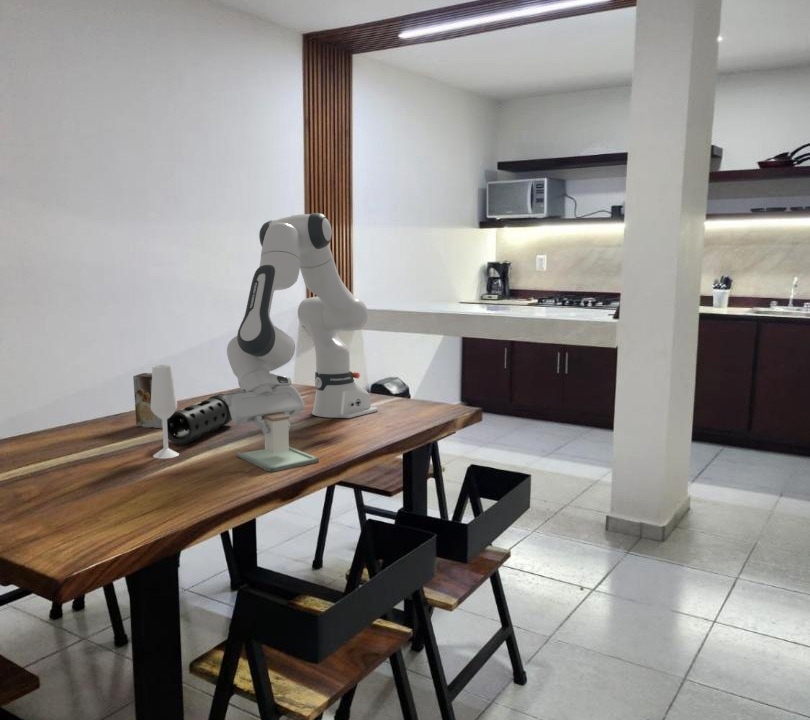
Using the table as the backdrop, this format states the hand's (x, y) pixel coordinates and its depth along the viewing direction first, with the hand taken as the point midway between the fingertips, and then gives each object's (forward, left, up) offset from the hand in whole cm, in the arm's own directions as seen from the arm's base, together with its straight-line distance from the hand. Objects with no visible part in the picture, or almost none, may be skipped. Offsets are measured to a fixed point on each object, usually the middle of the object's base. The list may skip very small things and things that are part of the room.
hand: (277, 430), depth 188 cm
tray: (0, -1, -8) cm, 8 cm away
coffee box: (+11, -58, -8) cm, 59 cm away
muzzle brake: (+4, -37, -8) cm, 38 cm away
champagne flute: (+21, -23, -8) cm, 32 cm away
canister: (0, -1, -5) cm, 5 cm away
